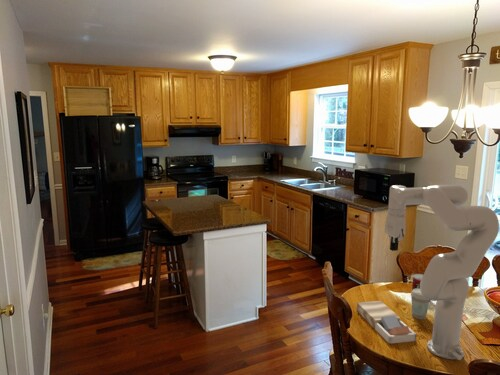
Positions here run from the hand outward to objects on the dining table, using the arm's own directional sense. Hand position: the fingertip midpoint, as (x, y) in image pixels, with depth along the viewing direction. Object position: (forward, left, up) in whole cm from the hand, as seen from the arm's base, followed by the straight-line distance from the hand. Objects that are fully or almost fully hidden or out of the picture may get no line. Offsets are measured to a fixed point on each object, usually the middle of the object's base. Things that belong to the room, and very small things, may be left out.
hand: (393, 249), depth 178 cm
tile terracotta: (-24, +11, -25) cm, 37 cm away
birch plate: (-8, +11, -29) cm, 32 cm away
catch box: (-22, +11, -29) cm, 38 cm away
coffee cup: (-10, -9, -29) cm, 32 cm away
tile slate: (-19, +12, -27) cm, 35 cm away
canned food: (+8, -22, -29) cm, 38 cm away
